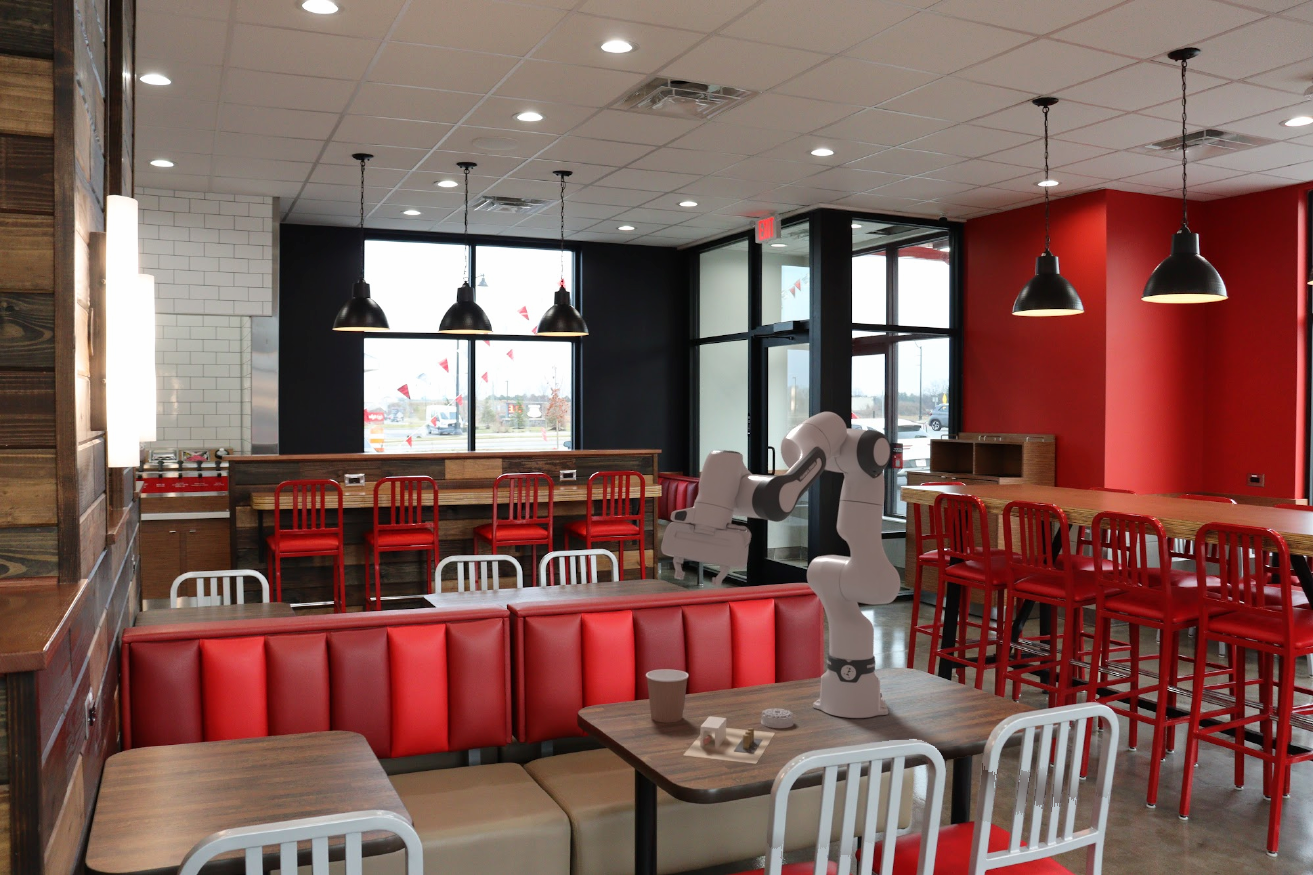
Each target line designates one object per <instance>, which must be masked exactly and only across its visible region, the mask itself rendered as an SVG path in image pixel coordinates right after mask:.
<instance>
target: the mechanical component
mask: <svg viewBox="0 0 1313 875" xmlns="http://www.w3.org/2000/svg"><path fill="white" fill-rule="evenodd" d="M760 723H761V725H762V726H764V727H766V728H767V727H768V728H774V729H786V728H791V727H793V726H794V724H795V723H794V712H792V711H790V710H789V709H788V710H787V709H784V708H779V707H778V708H776V707H775V708H766V709H765V710H764V709H763V710H762V711H761V720H760Z"/></svg>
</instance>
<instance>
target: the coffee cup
mask: <svg viewBox="0 0 1313 875" xmlns="http://www.w3.org/2000/svg"><path fill="white" fill-rule="evenodd" d="M645 677H646V681H647V689H648V699H649V710H650V718H651V720H653V721H655V722H658V723H668V724H669V723H677V722H679V721H681V720H683V715H684V714H683V713H684V710H685V703H686V694H687V693H686V692H687V682H688V678H689V673H688V672H686V671H683V670H678V669H677V670H676V669H670V668H669V669H668V668H667V669H663V668H662V669H654V670H651V671H648V672H646V674H645Z"/></svg>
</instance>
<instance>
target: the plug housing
mask: <svg viewBox="0 0 1313 875" xmlns="http://www.w3.org/2000/svg"><path fill="white" fill-rule="evenodd" d="M726 728H727V717H720V716H719V717H718V716H711V715H710V716H708V717H707V719H706V720H705V721H704V722H703V723H702V724H701V725H700V729H699V731H700V734H699V736H700V746H702V747H703V746H704V745H705V744H708V743H709V741H710V740H711V739H712V731H714V732H715V748H718V747H719V746H720V745H721V743H722V742H723V741H724V739H725V738H726Z"/></svg>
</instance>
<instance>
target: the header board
mask: <svg viewBox="0 0 1313 875" xmlns="http://www.w3.org/2000/svg"><path fill="white" fill-rule="evenodd" d="M775 734H776V732H772V731H771V732H769V731H761V730H755V728H754V727H748V728H747V729H740V728H732V727H726V738H725V739H724V741H723V742H722V743H721V745H720V746H719V747H718V748H715V732H714V731H712V739H711V740H710V741H709V743H708V744H705V745H704V746H703V747H702V746H700V735H699V736H698V737H697V738H696V739H695V741H693V743H692V744H691V745H690V746H689V748H688V749H687V750H685V752H684V753H683V755H682V756H684V757H685V756H686V757H694V758H701V759H712V760H719V761H729V762H737V763H738V762H739V763H747V764H754V765H756V764H757V763H758V762H759V761H760V759H761V757H762V755H763V753H765V751H766V749H767V747H768V745H769V744H770V743H771V741H772V739H773V738H774V736H775Z"/></svg>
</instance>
